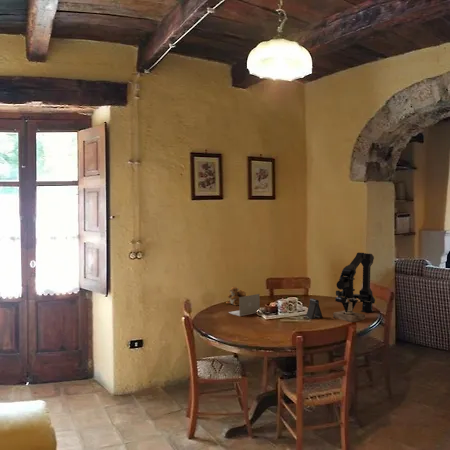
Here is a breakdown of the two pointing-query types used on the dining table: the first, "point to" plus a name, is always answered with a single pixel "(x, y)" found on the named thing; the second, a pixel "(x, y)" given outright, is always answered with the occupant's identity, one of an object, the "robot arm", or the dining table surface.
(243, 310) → the laptop
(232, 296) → the stuffed squirrel
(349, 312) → the birch peg
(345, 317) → the walnut board
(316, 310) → the phone stand
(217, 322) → the dining table surface
